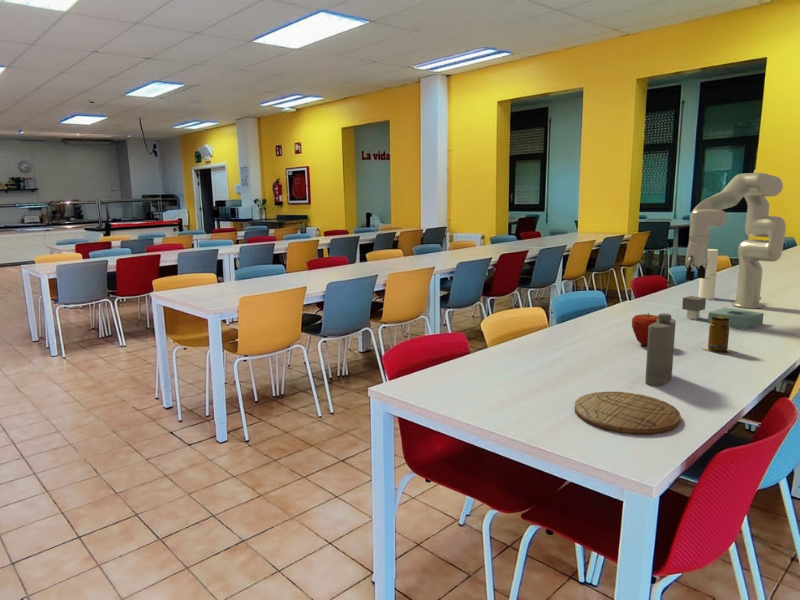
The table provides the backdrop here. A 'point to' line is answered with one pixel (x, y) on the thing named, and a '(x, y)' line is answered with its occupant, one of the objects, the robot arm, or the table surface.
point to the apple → (642, 326)
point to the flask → (660, 350)
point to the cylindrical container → (709, 276)
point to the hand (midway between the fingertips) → (695, 279)
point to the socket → (738, 317)
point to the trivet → (627, 413)
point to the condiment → (719, 335)
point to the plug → (693, 306)
